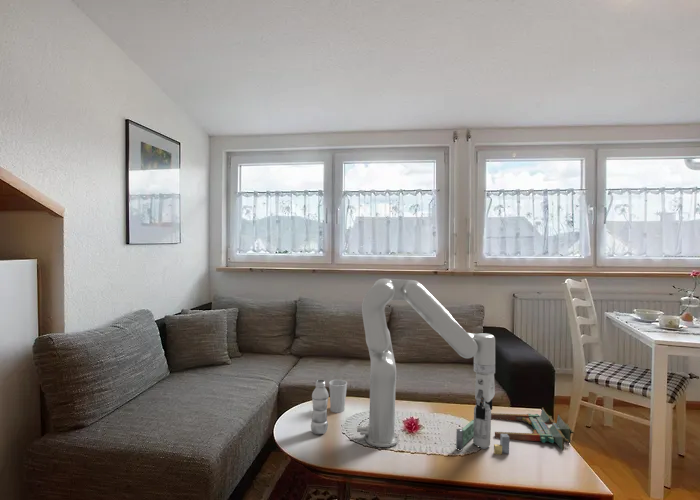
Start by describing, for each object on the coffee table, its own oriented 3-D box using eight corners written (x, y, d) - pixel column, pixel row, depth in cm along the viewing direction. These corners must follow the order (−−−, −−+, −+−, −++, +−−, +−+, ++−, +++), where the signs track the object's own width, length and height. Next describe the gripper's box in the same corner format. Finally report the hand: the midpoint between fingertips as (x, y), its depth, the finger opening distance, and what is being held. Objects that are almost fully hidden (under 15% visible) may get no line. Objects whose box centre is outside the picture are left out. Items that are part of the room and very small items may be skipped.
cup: (338, 404, 181) (339, 378, 181) (350, 410, 175) (350, 383, 175) (324, 408, 176) (325, 381, 176) (335, 415, 170) (336, 387, 170)
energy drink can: (493, 445, 147) (494, 405, 147) (485, 451, 143) (486, 409, 143) (478, 439, 152) (479, 400, 151) (470, 444, 147) (471, 404, 147)
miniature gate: (486, 405, 176) (560, 407, 170) (487, 418, 176) (560, 420, 170) (496, 433, 150) (584, 437, 144) (497, 448, 150) (584, 452, 144)
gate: (462, 446, 145) (463, 431, 145) (459, 445, 146) (460, 430, 146) (475, 434, 154) (475, 420, 154) (472, 433, 155) (472, 419, 155)
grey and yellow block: (494, 454, 141) (495, 437, 141) (492, 449, 144) (492, 433, 144) (509, 455, 141) (510, 438, 141) (506, 450, 144) (507, 433, 144)
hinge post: (456, 450, 143) (457, 431, 143) (455, 447, 145) (456, 428, 145) (462, 451, 143) (463, 431, 143) (461, 448, 145) (462, 428, 145)
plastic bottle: (307, 432, 154) (308, 380, 154) (321, 427, 159) (322, 377, 158) (317, 438, 149) (318, 385, 149) (331, 433, 154) (332, 381, 154)
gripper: (488, 376, 138) (488, 425, 138) (500, 363, 152) (500, 408, 152) (467, 372, 142) (466, 419, 142) (480, 360, 156) (480, 403, 156)
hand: (484, 413), depth 147 cm, fingers open, 9 cm apart
